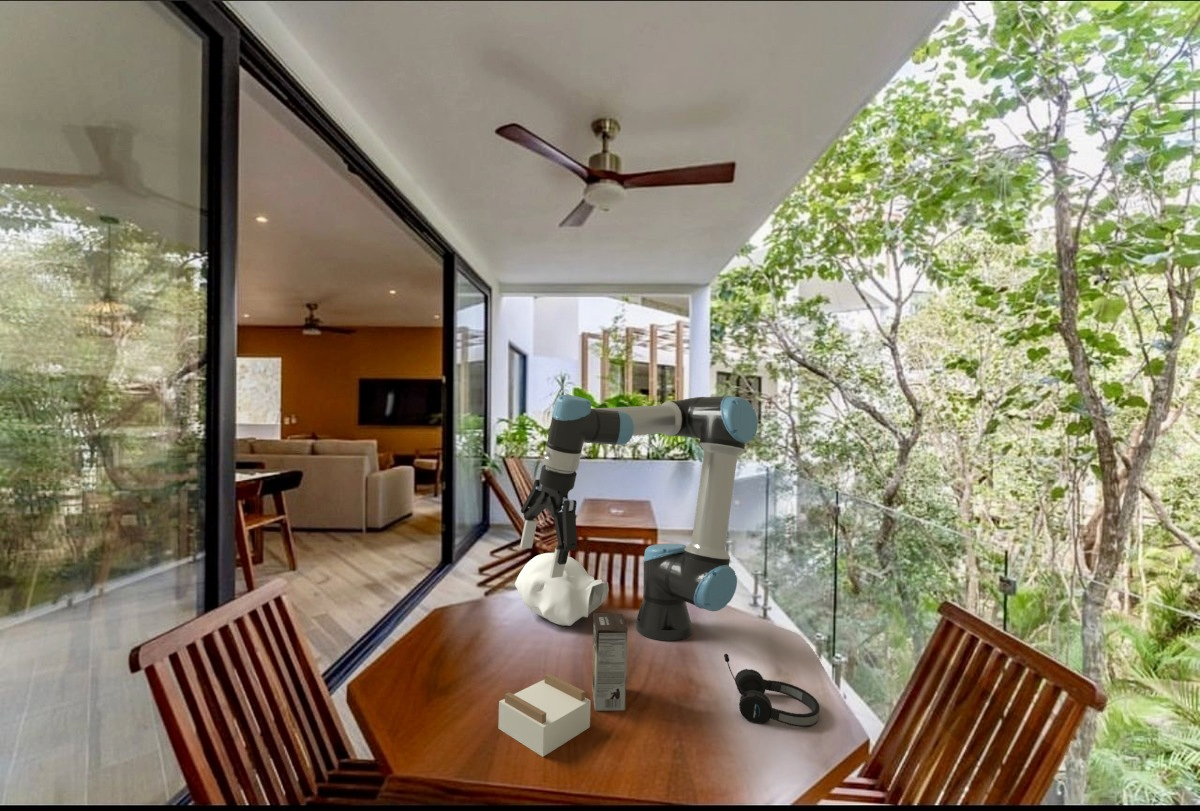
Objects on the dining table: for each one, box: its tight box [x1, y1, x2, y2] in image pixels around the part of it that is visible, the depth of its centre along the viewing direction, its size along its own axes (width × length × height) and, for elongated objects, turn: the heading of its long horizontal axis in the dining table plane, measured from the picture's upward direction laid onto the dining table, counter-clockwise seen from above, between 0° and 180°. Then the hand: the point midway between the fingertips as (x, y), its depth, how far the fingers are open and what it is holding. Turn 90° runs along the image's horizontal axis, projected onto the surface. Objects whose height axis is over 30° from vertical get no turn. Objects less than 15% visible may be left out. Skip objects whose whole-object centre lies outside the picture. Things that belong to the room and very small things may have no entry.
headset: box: [723, 653, 821, 728], centre depth 109 cm, size 13×9×19 cm
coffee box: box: [591, 612, 629, 712], centre depth 111 cm, size 9×6×16 cm
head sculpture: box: [514, 552, 610, 627], centre depth 154 cm, size 18×20×25 cm
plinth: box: [497, 673, 591, 758], centre depth 100 cm, size 12×12×6 cm
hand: (540, 561), depth 117 cm, fingers open, 13 cm apart
